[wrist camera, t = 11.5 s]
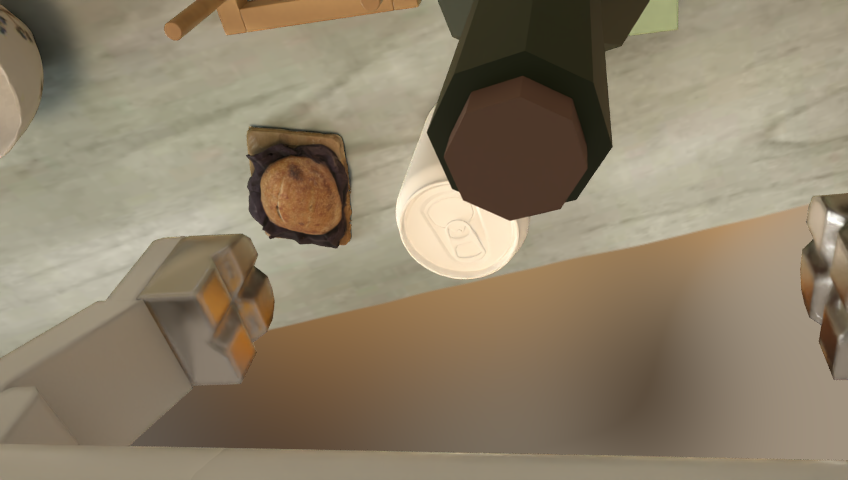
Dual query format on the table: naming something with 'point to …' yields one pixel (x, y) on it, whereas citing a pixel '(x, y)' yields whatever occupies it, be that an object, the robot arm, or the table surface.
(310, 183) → the bread roll
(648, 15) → the green low rectangular block
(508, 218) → the wine bottle
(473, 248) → the beverage can
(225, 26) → the dish rack
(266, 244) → the table surface
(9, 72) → the teacup
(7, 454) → the robot arm
